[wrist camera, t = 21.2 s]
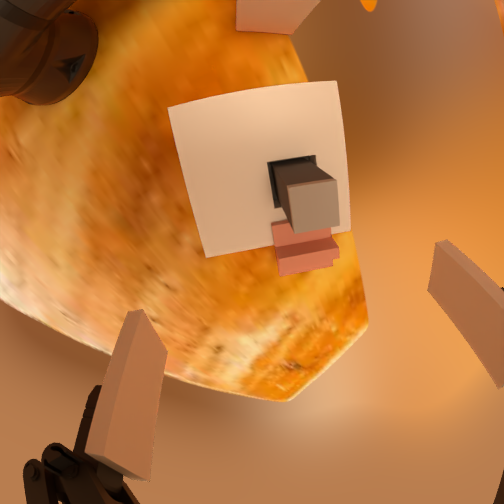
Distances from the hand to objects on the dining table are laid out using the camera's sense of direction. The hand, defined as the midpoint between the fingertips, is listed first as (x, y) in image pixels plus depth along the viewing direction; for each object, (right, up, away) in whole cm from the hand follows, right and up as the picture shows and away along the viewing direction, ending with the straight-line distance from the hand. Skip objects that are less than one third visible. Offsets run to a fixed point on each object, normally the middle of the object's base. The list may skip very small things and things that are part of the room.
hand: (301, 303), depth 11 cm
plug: (+3, +12, +25) cm, 28 cm away
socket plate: (0, +13, +24) cm, 28 cm away
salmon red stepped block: (+5, +3, +26) cm, 26 cm away
